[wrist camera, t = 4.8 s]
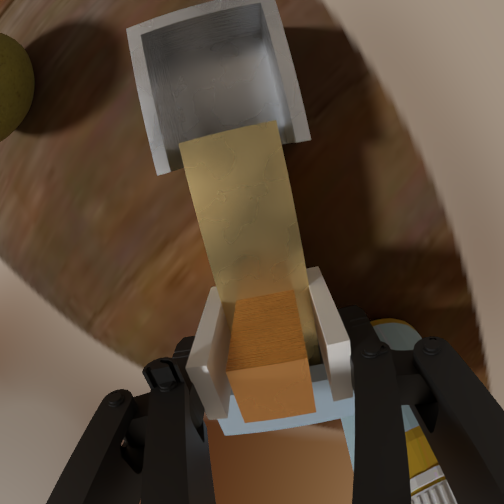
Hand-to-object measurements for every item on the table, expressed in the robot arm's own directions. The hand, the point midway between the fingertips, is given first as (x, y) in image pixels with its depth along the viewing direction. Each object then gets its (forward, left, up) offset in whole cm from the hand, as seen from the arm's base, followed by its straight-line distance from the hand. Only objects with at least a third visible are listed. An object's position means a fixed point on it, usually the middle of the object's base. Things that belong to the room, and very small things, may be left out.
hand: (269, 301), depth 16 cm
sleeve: (-11, 0, -3) cm, 11 cm away
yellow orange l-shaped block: (-2, 0, -2) cm, 3 cm away
